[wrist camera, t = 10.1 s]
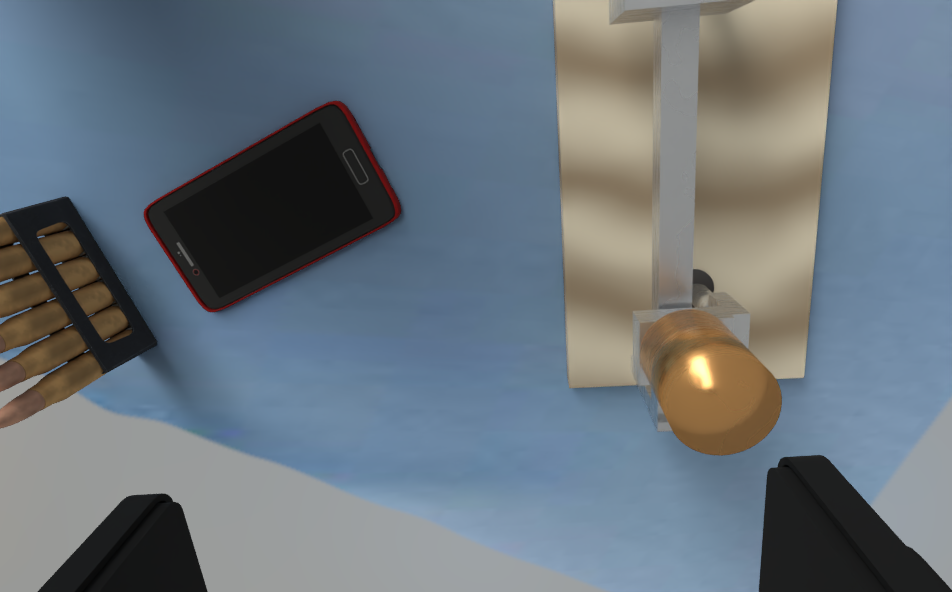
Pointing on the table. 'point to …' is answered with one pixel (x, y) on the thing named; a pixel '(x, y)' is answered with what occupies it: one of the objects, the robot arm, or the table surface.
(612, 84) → the hole plate
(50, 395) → the ammunition clip
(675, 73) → the frame
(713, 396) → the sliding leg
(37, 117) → the table surface
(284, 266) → the cell phone
